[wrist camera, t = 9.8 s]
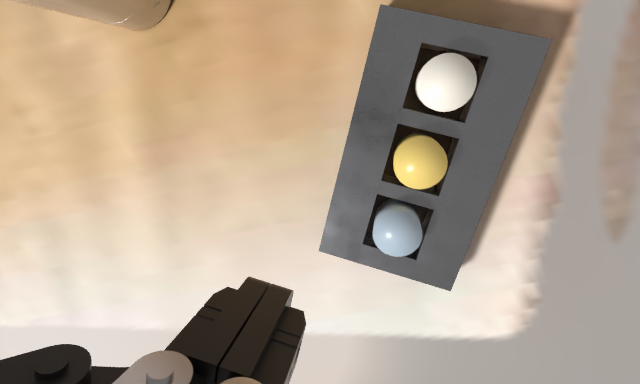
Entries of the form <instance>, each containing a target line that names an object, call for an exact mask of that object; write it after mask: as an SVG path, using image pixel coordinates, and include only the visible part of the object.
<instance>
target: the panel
mask: <svg viewBox="0 0 640 384" xmlns="http://www.w3.org/2000/svg"><path fill="white" fill-rule="evenodd" d="M551 42H552V39H548V38H543V37H538V36H533V35H528V34H523V33H518V32H513V31H509V30H504V29H499V28H494V27H489V26H484V25H479V24H474V23H469V22H465V21H460V20H455V19H450V18H445V17H440V16H435V15H430V14H425V13H421V12H416V11H411V10H406V9H401V8H396V7H391V6H386V5H380V9H379V13H378V17H377V21H376V25H375V29H374V33H373V37H372V40H371V44H370V48H369V52H368V56H367V60H366V64H365V68H364V72H363V76H362V80H361V84H360V88H359V92H358V96H357V100H356V104H355V108H354V112H353V116H352V120H351V124H350V128H349V132H348V136H347V140H346V144H345V148H344V152H343V156H342V160H341V164H340V168H339V172H338V176H337V180H336V184H335V188H334V192H333V196H332V200H331V204H330V208H329V212H328V216H327V220H326V224H325V228H324V232H323V236H322V240H321V244H320V248H319V251H321V252H324V253H327V254H330V255H334V256H337V257H340V258H343V259H347V260H350V261H353V262H357V263H360V264H363V265H366V266H370V267H373V268H376V269H380V270H383V271H386V272H389V273H393V274H396V275H399V276H403V277H406V278H409V279H412V280H416V281H419V282H422V283H425V284H429V285H432V286H435V287H439V288H442V289H445V290H448V291H451V289H452V287H453V284H454V282H455V279H456V277H457V274H458V272H459V269H460V267H461V264H462V262H463V259H464V257H465V254H466V252H467V250H468V247H469V245H470V242H471V240H472V237H473V235H474V232H475V230H476V227H477V225H478V222H479V220H480V217H481V215H482V212H483V210H484V207H485V205H486V203H487V200H488V198H489V195H490V193H491V190H492V188H493V185H494V183H495V180H496V178H497V175H498V173H499V170H500V168H501V165H502V163H503V160H504V158H505V156H506V153H507V151H508V148H509V146H510V143H511V141H512V138H513V136H514V133H515V131H516V128H517V126H518V123H519V121H520V118H521V116H522V113H523V111H524V109H525V106H526V104H527V101H528V99H529V96H530V94H531V91H532V89H533V86H534V84H535V81H536V79H537V76H538V74H539V71H540V69H541V66H542V64H543V62H544V59H545V57H546V54H547V52H548V49H549V47H550V44H551ZM420 47H422V48H427V49H431V50H436V51H440V52H445V53H456V54H460V55H462V56H464V57H468V58H473V59H477V60H480V61H479V64H478V67H477V70H476V76H477V83H476V88H475V91H474V93H473V95H472V97H471V98H470V99H469V100H468V101H467V103H465V104H464V107H463V110H462V113H461V116H460V119H459V121H458V120H454V119H449V118H445V117H441V116H437V115H433V114H429V113H425V112H421V111H416V110H412V109H408V108H404V107H403V104H404V101H405V97H406V94H407V91H408V87H409V84H410V80H411V77H412V74H413V70H414V67H415V63H416V60H417V57H418V53H419V50H420ZM398 124H402V125H406V126H410V127H414V128H418V129H422V130H426V131H430V132H434V133H438V134H442V135H446V136H450V137H453V139H452V142H451V145H450V148H449V150H448V153H447V160H448V165H447V170H446V173H445V175H444V176H443V178H442V179H441V180H440V181H439V182H438V183H437V185H436V188H433V187H430V188H426V189H413V188H410V187H407V186H405V185H404V184H403V183H401V182H400V181H399V179H398V178H396V177H392V176H388V175H385V174H383V172H384V169H385V166H386V162H387V159H388V155H389V152H390V149H391V145H392V142H393V138H394V135H395V131H396V128H397V125H398ZM377 194H379V195H382V196H386V197H390V198H393V199H397V200H400V201H404V202H408V203H411V204H415V205H419V206H422V207H426V208H428V211H427V213H426V216H425V219H424V222H423V225H422V241H421V243H420V245H419V247H418V248H417V249H416V250H415V251H414V252H413V253H411V254H409V255H406V256H402V257H395V256H390V255H387V254H385V253H384V252H382V251H381V250H380V249H379V248H378V247H377V246H376V244H375V242H374V240H373V235H370V234H366V230H367V227H368V223H369V220H370V217H371V213H372V210H373V206H374V203H375V200H376V196H377Z"/></svg>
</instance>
